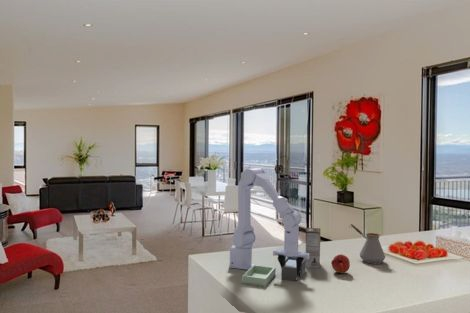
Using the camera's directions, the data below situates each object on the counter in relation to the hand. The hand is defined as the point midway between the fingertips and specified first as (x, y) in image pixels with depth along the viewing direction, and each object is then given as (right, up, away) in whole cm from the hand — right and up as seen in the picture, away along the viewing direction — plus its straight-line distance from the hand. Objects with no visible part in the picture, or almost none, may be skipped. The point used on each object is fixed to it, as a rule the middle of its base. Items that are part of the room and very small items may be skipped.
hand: (290, 274), depth 168 cm
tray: (-13, -1, -2) cm, 13 cm away
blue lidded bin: (+1, -1, +2) cm, 3 cm away
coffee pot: (+40, -1, +30) cm, 50 cm away
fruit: (+22, -2, +8) cm, 24 cm away
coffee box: (+13, -1, +19) cm, 23 cm away
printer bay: (+3, -1, +8) cm, 8 cm away
